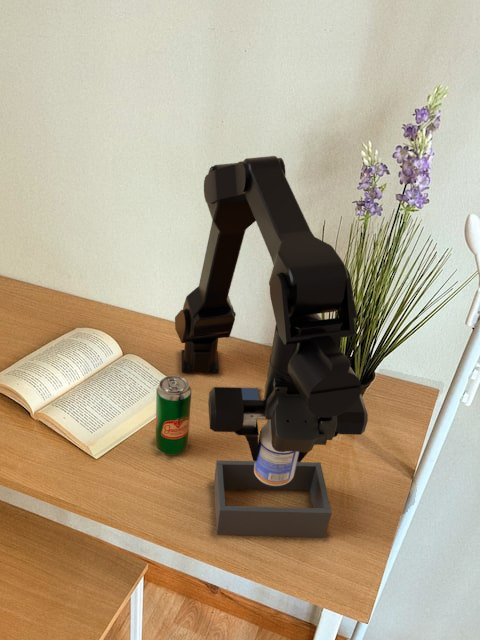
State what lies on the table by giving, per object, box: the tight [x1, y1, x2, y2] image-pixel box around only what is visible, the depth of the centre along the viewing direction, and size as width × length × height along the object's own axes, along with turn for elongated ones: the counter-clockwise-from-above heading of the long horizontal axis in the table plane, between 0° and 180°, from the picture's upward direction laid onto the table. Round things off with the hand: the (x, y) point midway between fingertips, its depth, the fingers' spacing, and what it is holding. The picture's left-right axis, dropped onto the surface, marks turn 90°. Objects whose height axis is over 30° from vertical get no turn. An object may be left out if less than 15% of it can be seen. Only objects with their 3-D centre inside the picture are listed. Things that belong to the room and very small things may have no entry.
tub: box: [213, 459, 332, 538], centre depth 96 cm, size 10×15×5 cm, turn 87°
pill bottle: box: [254, 420, 299, 486], centre depth 90 cm, size 5×5×10 cm
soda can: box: [154, 375, 192, 456], centre depth 104 cm, size 5×5×12 cm
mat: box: [240, 387, 260, 400], centre depth 115 cm, size 7×7×1 cm
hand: (275, 459), depth 92 cm, fingers closed on pill bottle, 5 cm apart
